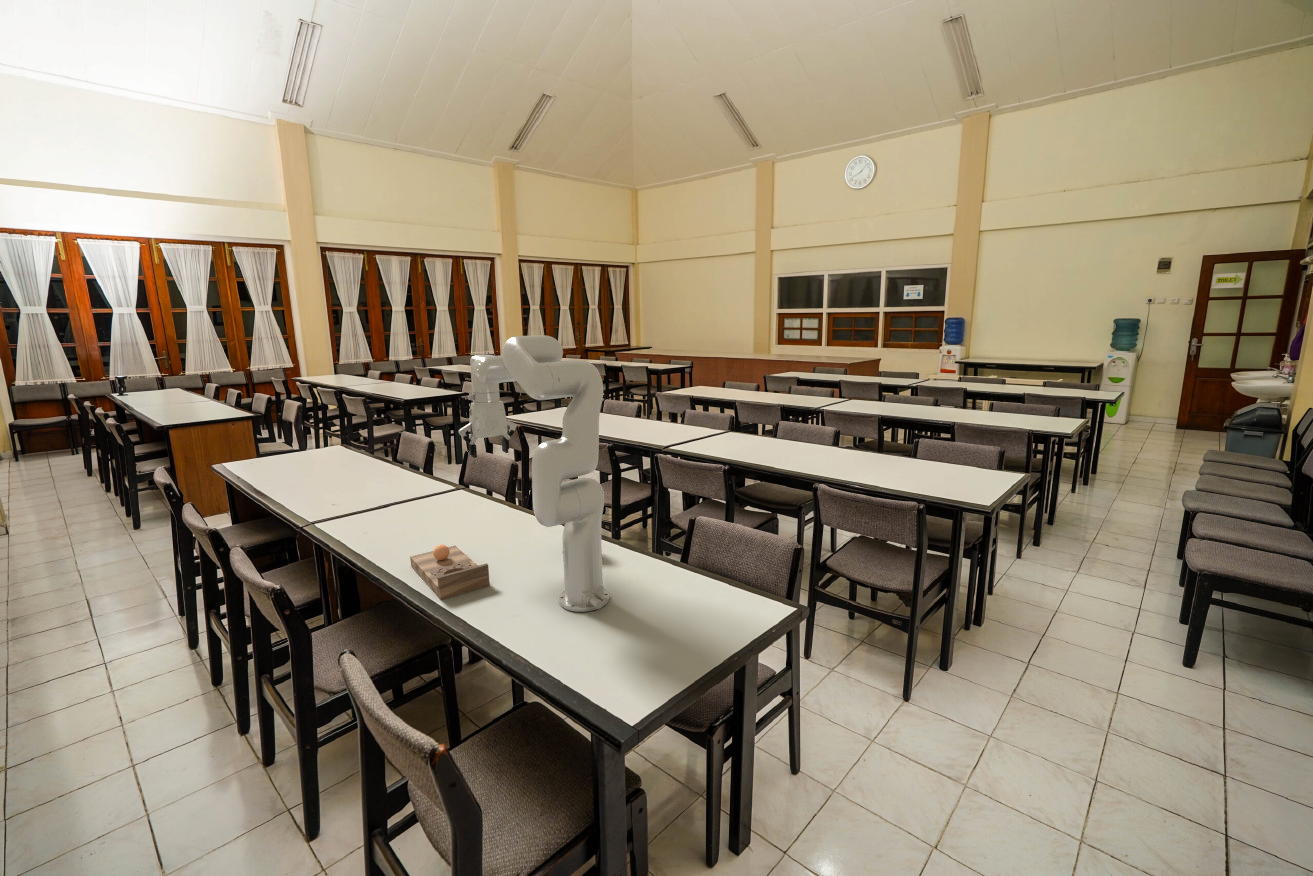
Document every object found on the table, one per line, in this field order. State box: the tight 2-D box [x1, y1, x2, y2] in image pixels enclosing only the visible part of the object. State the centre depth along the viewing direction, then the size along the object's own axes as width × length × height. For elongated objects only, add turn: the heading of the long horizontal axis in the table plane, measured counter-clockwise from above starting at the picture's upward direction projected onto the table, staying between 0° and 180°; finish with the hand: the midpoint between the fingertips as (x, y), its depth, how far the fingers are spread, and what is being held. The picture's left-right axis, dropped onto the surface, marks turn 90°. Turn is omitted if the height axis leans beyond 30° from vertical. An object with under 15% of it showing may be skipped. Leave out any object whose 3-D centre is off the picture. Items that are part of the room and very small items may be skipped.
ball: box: [432, 544, 450, 560], centre depth 168 cm, size 4×4×4 cm
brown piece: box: [409, 545, 491, 601], centre depth 164 cm, size 26×13×6 cm, turn 37°
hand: (489, 454), depth 177 cm, fingers open, 9 cm apart
